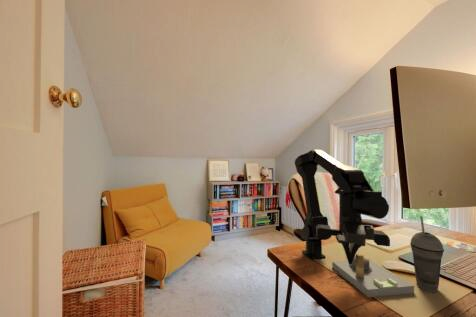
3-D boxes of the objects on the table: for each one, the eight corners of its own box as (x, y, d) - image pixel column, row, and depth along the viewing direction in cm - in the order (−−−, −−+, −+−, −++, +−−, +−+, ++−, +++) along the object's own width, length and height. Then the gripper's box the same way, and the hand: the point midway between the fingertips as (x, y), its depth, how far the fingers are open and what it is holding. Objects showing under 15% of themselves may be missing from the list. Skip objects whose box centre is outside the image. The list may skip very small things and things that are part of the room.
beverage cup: (432, 297, 55) (431, 221, 56) (404, 282, 62) (403, 215, 63) (451, 292, 57) (450, 219, 58) (421, 278, 64) (420, 213, 65)
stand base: (332, 267, 71) (332, 258, 71) (369, 265, 72) (369, 256, 73) (368, 297, 55) (368, 285, 55) (414, 293, 57) (414, 282, 57)
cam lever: (351, 261, 70) (351, 243, 70) (369, 265, 67) (369, 246, 68) (349, 275, 61) (349, 254, 61) (370, 280, 58) (369, 258, 59)
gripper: (318, 213, 57) (317, 270, 57) (398, 220, 52) (399, 284, 51) (316, 206, 68) (315, 254, 67) (382, 211, 62) (382, 264, 61)
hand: (349, 263), depth 61 cm, fingers closed
